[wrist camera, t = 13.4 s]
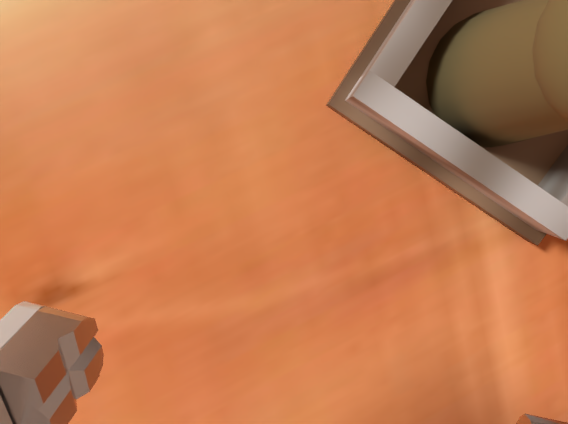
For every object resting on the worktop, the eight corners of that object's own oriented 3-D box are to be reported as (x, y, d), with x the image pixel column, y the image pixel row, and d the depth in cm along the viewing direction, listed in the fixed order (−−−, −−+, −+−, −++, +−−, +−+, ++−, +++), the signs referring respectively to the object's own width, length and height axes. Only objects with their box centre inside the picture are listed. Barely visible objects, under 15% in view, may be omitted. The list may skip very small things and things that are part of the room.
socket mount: (326, 105, 23) (333, 99, 20) (476, -126, 22) (513, -175, 19) (527, 241, 25) (567, 258, 21) (684, 29, 23) (755, 10, 20)
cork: (563, 7, 22) (844, -119, 11) (555, 145, 23) (808, 154, 12) (427, 11, 22) (573, -112, 11) (424, 149, 23) (558, 161, 12)
